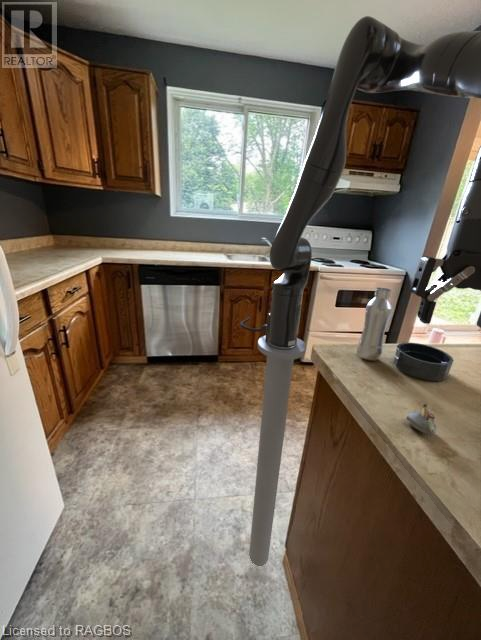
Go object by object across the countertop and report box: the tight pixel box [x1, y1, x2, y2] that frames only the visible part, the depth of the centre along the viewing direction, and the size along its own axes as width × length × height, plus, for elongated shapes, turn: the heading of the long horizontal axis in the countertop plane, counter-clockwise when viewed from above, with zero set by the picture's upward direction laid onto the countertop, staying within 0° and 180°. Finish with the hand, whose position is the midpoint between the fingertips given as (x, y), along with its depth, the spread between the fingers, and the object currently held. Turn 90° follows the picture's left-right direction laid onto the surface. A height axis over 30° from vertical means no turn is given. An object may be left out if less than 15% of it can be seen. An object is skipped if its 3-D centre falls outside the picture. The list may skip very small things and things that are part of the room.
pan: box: [392, 342, 455, 382], centre depth 71 cm, size 12×12×5 cm
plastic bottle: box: [356, 287, 394, 361], centre depth 74 cm, size 6×7×20 cm
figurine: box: [406, 402, 437, 436], centre depth 50 cm, size 5×4×6 cm
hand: (452, 324), depth 44 cm, fingers open, 8 cm apart
